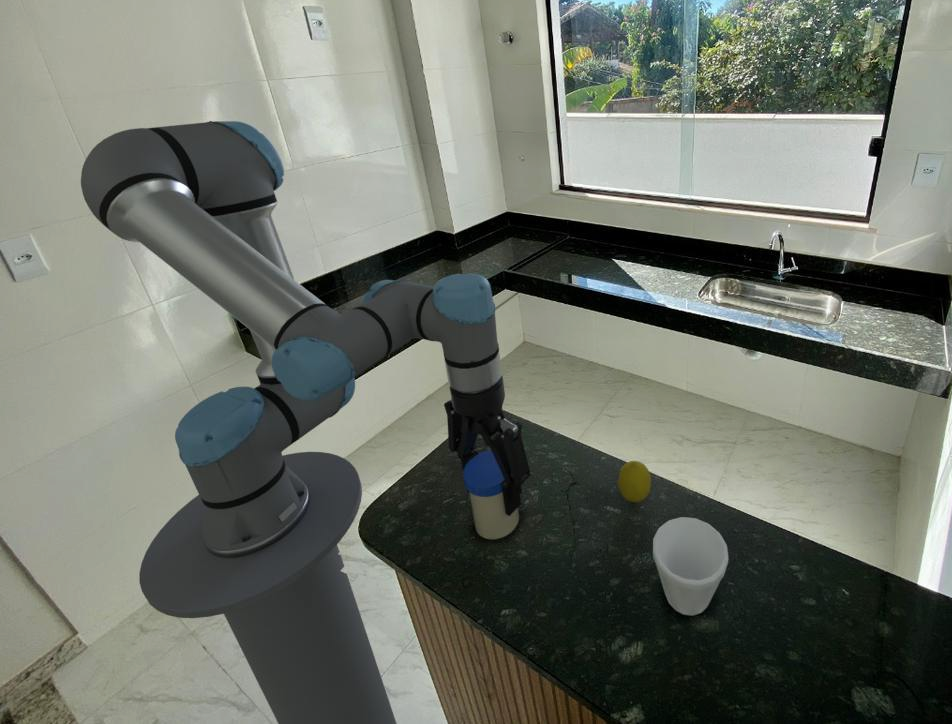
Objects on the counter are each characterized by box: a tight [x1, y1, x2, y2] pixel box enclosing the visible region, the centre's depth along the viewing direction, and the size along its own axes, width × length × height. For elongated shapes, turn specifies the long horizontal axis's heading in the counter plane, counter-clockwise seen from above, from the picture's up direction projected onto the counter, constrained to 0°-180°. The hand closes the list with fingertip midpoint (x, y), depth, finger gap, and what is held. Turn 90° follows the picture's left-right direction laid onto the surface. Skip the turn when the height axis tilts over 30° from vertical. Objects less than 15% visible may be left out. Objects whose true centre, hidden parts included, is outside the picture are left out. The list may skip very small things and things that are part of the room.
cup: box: [652, 516, 729, 617], centre depth 66 cm, size 10×10×9 cm
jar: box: [468, 492, 520, 540], centre depth 78 cm, size 7×7×11 cm
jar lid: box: [462, 449, 505, 497], centre depth 76 cm, size 8×8×2 cm
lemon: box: [617, 460, 652, 503], centre depth 82 cm, size 6×6×8 cm
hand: (493, 497), depth 78 cm, fingers closed on jar lid, 8 cm apart
